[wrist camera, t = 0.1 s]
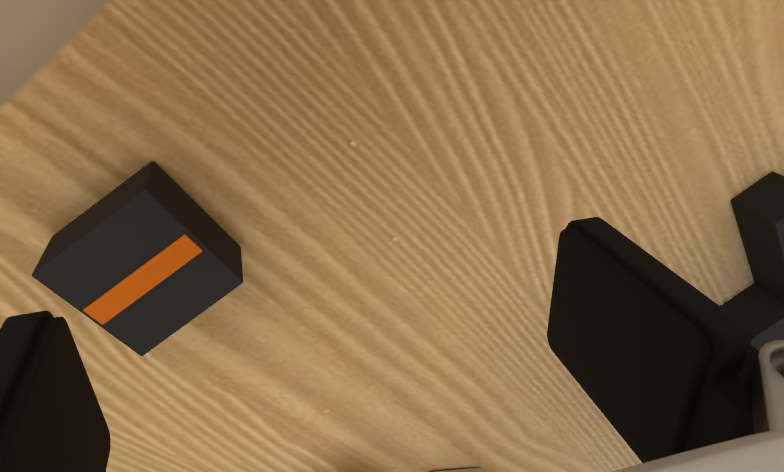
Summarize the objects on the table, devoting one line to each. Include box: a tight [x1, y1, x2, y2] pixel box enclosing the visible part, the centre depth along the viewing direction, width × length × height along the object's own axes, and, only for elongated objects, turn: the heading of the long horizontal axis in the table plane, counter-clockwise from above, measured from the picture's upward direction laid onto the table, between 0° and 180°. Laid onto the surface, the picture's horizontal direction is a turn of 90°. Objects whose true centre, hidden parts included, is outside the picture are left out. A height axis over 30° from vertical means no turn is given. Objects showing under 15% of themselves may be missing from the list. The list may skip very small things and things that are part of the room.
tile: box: [32, 161, 243, 356], centre depth 24 cm, size 6×6×3 cm
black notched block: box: [721, 172, 784, 351], centre depth 41 cm, size 29×14×3 cm, turn 33°
